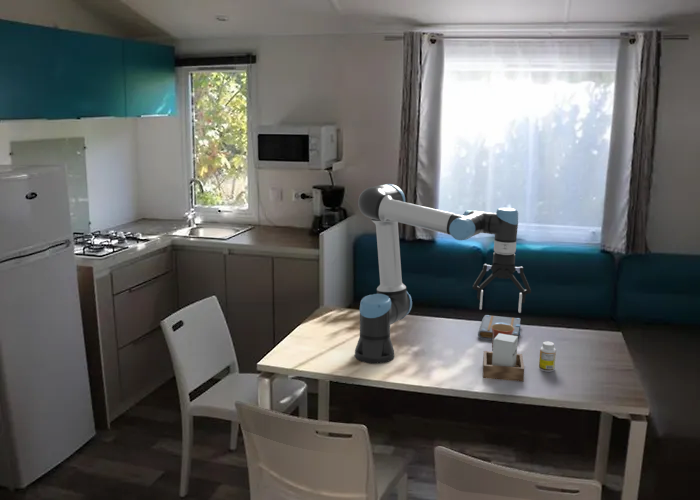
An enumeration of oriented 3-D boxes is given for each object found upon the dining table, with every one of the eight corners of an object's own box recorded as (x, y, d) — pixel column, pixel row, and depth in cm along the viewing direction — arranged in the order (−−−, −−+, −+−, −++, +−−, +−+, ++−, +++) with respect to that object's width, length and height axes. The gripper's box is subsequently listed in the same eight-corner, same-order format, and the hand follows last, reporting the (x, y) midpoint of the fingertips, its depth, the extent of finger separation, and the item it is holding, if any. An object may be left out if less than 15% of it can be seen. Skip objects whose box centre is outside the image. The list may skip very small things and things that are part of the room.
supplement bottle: (543, 365, 248) (545, 339, 245) (557, 369, 244) (559, 343, 241) (535, 369, 244) (537, 343, 242) (549, 373, 240) (551, 347, 238)
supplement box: (511, 375, 236) (513, 342, 233) (490, 371, 239) (492, 338, 236) (516, 368, 242) (518, 336, 239) (496, 364, 246) (498, 332, 243)
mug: (489, 347, 265) (491, 323, 262) (512, 349, 263) (513, 324, 261) (489, 358, 253) (491, 333, 251) (513, 360, 252) (515, 335, 249)
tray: (483, 378, 236) (483, 365, 235) (482, 363, 249) (483, 351, 248) (523, 381, 233) (524, 368, 232) (521, 366, 246) (522, 354, 245)
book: (482, 323, 294) (483, 313, 293) (520, 327, 289) (521, 316, 288) (477, 339, 274) (478, 328, 273) (518, 344, 270) (519, 332, 269)
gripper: (468, 252, 231) (464, 310, 236) (542, 257, 227) (536, 316, 232) (468, 247, 238) (465, 303, 243) (540, 252, 234) (535, 309, 239)
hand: (499, 309), depth 237 cm, fingers open, 13 cm apart
